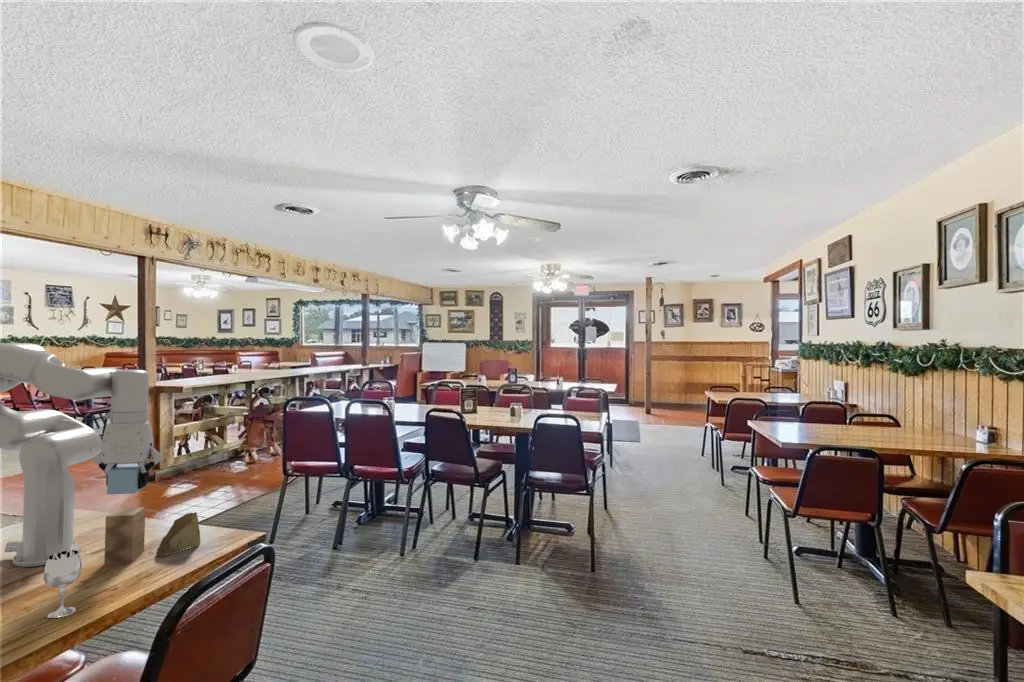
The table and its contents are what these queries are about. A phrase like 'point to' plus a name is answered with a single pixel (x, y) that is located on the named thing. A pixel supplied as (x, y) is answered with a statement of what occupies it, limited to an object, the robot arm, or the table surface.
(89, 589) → the table surface
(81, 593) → the table surface
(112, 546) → the tower base
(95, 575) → the table surface
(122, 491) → the blue block
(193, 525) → the rock
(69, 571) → the wineglass
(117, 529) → the tower mid
